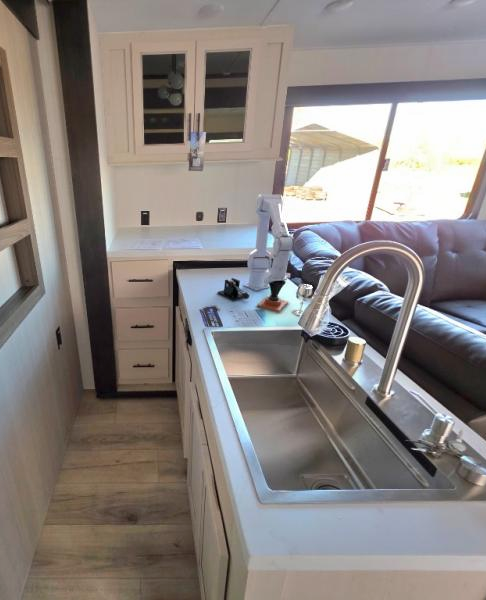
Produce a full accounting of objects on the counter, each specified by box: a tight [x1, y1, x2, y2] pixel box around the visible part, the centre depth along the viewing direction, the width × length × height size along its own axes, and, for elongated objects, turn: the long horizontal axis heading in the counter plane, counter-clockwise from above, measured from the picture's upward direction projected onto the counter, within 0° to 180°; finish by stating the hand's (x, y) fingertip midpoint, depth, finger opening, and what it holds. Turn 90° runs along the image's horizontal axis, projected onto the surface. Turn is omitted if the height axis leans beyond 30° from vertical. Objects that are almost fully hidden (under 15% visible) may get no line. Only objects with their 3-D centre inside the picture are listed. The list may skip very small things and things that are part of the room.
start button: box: [269, 294, 280, 301], centre depth 135 cm, size 4×4×2 cm
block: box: [257, 295, 289, 313], centre depth 136 cm, size 12×9×3 cm
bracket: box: [217, 277, 244, 302], centre depth 144 cm, size 10×7×8 cm
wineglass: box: [293, 283, 313, 316], centre depth 127 cm, size 6×6×12 cm
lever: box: [229, 279, 250, 300], centre depth 141 cm, size 12×3×3 cm, turn 31°
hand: (274, 296), depth 135 cm, fingers closed, pressing on start button
